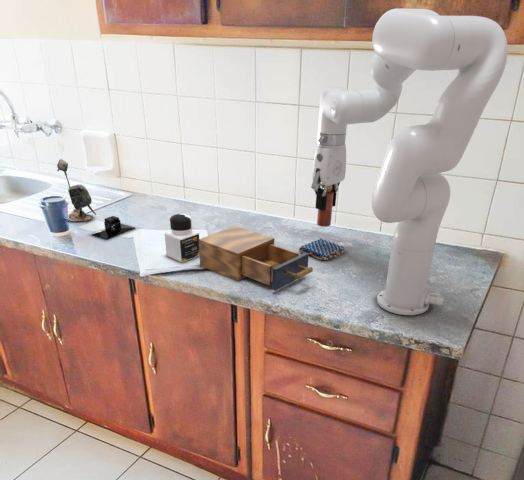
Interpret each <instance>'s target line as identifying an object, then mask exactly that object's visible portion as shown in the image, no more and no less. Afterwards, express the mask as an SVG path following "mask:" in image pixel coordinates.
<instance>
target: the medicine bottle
mask: <svg viewBox="0 0 524 480" xmlns="http://www.w3.org/2000/svg"><path fill="white" fill-rule="evenodd" d="M192 219H193V218H192V216H191V215H189V214H186V213H177V214H173V215H171V216H170V218H169V223H170V224H169V226H170V230H169V231H166V232H164V242H165V253H166V256H167V257H169V258H170V259H173V260H176V261H178V262H180V263H185V262H188V261H190V260H193V259H196V258H198V257H200V256H199V239H200V232H198V231H195V230H194V229H193V222H192Z"/></svg>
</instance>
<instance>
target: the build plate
mask: <svg viewBox="0 0 524 480" xmlns="http://www.w3.org/2000/svg"><path fill="white" fill-rule="evenodd" d="M103 224H104V229H102V230H99V231H96V232H93V233H91V236H93V237H95V238H99V239H102V240H106V241H108V240H110V239H113V238H115V237H118V236H120V235H123V234H126V233H128V232H131V231H133V230H136V227H134V226H131V225H127V224H123V223H121V219H120V217H118V216H115V215H112V216H108V217H106V218H104V222H103Z"/></svg>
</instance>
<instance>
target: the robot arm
mask: <svg viewBox="0 0 524 480" xmlns="http://www.w3.org/2000/svg"><path fill="white" fill-rule="evenodd" d="M371 38H372V39H371V40H372V41H371V42H372V49H373V51H374V53H375V54H374V55H373V57H372V58H371V61H370V65H369V69H370V74H371V77H372V78H373V80H374V82H375V83H376V84H377V85H375V86H374V87H373V88H371V89H367V88H365V89H353V90H349V89H348V88H347V87H341V86H327V87H324V88H322V89H321V91H320V94H319V104H318V105H319V107H318V121H317V133H316V147H315V151H314V157H313V158H314V159H313V164H312V175H311V176H312V183H311V185H310V188H311V189H312V190H313V191H314V195H315V209H316V210H318V209H320V210H323V211H324V210H326V202H327V196H325V195H326V190H327V186H331V185H332V190H331V191H333V192H334V194H333V205H332V208H334V207H336V202H337V195H338V194H337V192H338V191H339V186H340V184H341V182H342V181H344V180H345V179H346V170H347V144H346V140H347V139H346V137H347V129H348V125H356V124H357V125H358V124H368V123H374V122H377V121H379V120H381V119H383V117H384V116H386V115H387V114H388V113H389V112H390V111H391V110H393V108H394V107H395V106H396V105H397V104H398V102H399V100H400V98H401V95H402V91H403V83H405V82H406V80H407V79H408V78H410V76H412V74H414V73H415V71H416V70H418V71H427V72H429V71H430V72H432V71H454V70H458V71H459V72H458V74H457V76H456V77H455V78H454V79H453V80H452V81H451V82H450V83H449V84H448V85H447V87H446V88H445V89H444V91H443V92H442V94H441V95H440V97H439V99H438V102H437V105H436V107H435V110H434V111H433V114H432V116H431V118H430V120H429V121H428V122H426V123H425V124H418V125H410V126H407V127H404V128H403V129H400V130H399V131H398V132H396V134H395V135H394V137H392V139H391V140H390V142H389V144H388V146H387V149H386V152H385V154H384V157H383V159H382V163H381V166H380V169H379V171H378V174H377V178H376V180H375V184H374V186H373V189H372V194H371V207H372V208H371V209H372V212H373V215H374V216H375V217H376V218H377V220H378V221H380V222H382V223H386V224H394V223H397V224H396V227H395V229H394V232H393V236H392V237H393V238H392V243H391V249H390V256H389V261H388V268H387V273H386V274H387V275H386V281H385V286H384V290H381V291H380V292H379V293H378V294H377V297H376V303H377V304H378V306H379V307H380V308H381V309H383V310H385V311H387V312H389V313H392V314H396V315H400V316H401V315H402V316H416V315H421V314H423V313H426V312H427V311H428V310H429V308H430V304H431V305H435V306H440V307H442V306H443V304H444V299H445V298H444V297H440V293H437V292H430V291H429V290H428V289H429V285H428V280H429V276H430V271H431V266H432V261H433V257H434V252H435V248H436V242H437V238H438V233H439V230H440V226H441V223H442V221H443V218H444V215H445V213H446V211H447V208H448V206H449V203H450V200H451V186H450V183H449V181H448V179H447V178H446V177H445V176H444V175H443V174H441V173H446V172H449V171H452V170H454V169H455V168H456V167H457V166H458V164H459V163H460V162H461V159H462V157H463V156H464V153H465V151H466V149H467V147H468V145H469V143H470V141H471V139H472V136H473V134H474V132H475V130H476V128H477V126H478V124H479V121H480V119H481V116H482V114H483V112H484V111H485V108H486V107H487V105H488V103H489V101H490V100H491V97H492V96H493V94H494V92H495V90H496V89H497V86H498V85H499V83H500V81H501V79H502V76H503V74H504V72H505V69H506V65H507V61H508V41H507V36H506V33H505V31H504V30H503V27H501V25H500V24H499V23H497V21H495V20H493V19H491V18H489V17H485V16H479V15H440V14H439V13H438V12H436V11H435V10H431V9H429V8H428V9H427V8H403V7H402V8H401V7H400V8H398V7H397V8H391V9H390V10H387V11H386V12H385V13H383V14H382V15H381V16H380V17H379V19H378V20H377V21H376V24H375V26H374V29H373V31H372V37H371ZM322 187H323V190H322Z"/></svg>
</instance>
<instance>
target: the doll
mask: <svg viewBox="0 0 524 480" xmlns="http://www.w3.org/2000/svg"><path fill="white" fill-rule="evenodd" d="M321 189H322V190H323V187H322V186H321ZM331 190H332V185H331V186H327V190H326V195H325V196H327V202H326V210H324V211H323V210H320V209H317V217H316V218H317V219H316V225H317V226H319V227H323V228H327V227H330V226H331V224H332V215H333V206H332V205H333V194H334V192H333V191H331Z"/></svg>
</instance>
